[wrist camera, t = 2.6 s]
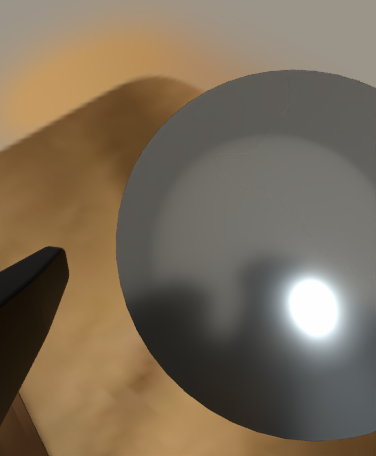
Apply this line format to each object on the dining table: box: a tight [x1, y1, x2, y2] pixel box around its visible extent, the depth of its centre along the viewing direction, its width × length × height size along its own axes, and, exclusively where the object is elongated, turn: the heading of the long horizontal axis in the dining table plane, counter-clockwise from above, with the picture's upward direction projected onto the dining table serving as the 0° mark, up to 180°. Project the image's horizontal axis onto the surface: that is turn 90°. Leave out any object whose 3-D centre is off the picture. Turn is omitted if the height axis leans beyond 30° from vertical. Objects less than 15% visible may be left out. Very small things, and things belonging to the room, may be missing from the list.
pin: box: [116, 70, 376, 441], centre depth 10 cm, size 4×4×13 cm
